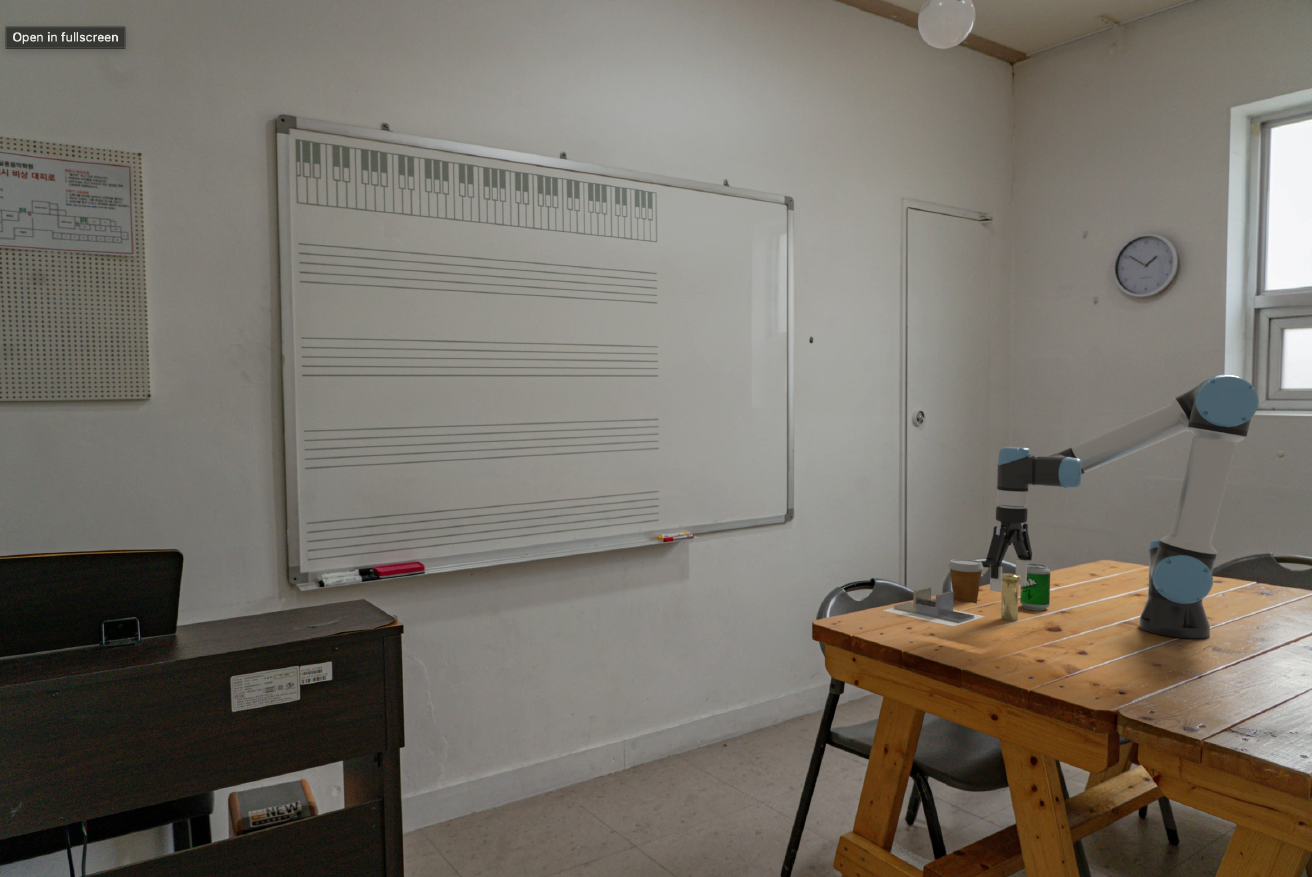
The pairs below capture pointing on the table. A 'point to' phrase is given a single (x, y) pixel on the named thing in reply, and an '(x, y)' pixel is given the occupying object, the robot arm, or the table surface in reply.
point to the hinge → (934, 606)
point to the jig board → (931, 619)
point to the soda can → (1036, 588)
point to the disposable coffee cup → (965, 579)
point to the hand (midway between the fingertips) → (1008, 587)
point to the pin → (1010, 596)
